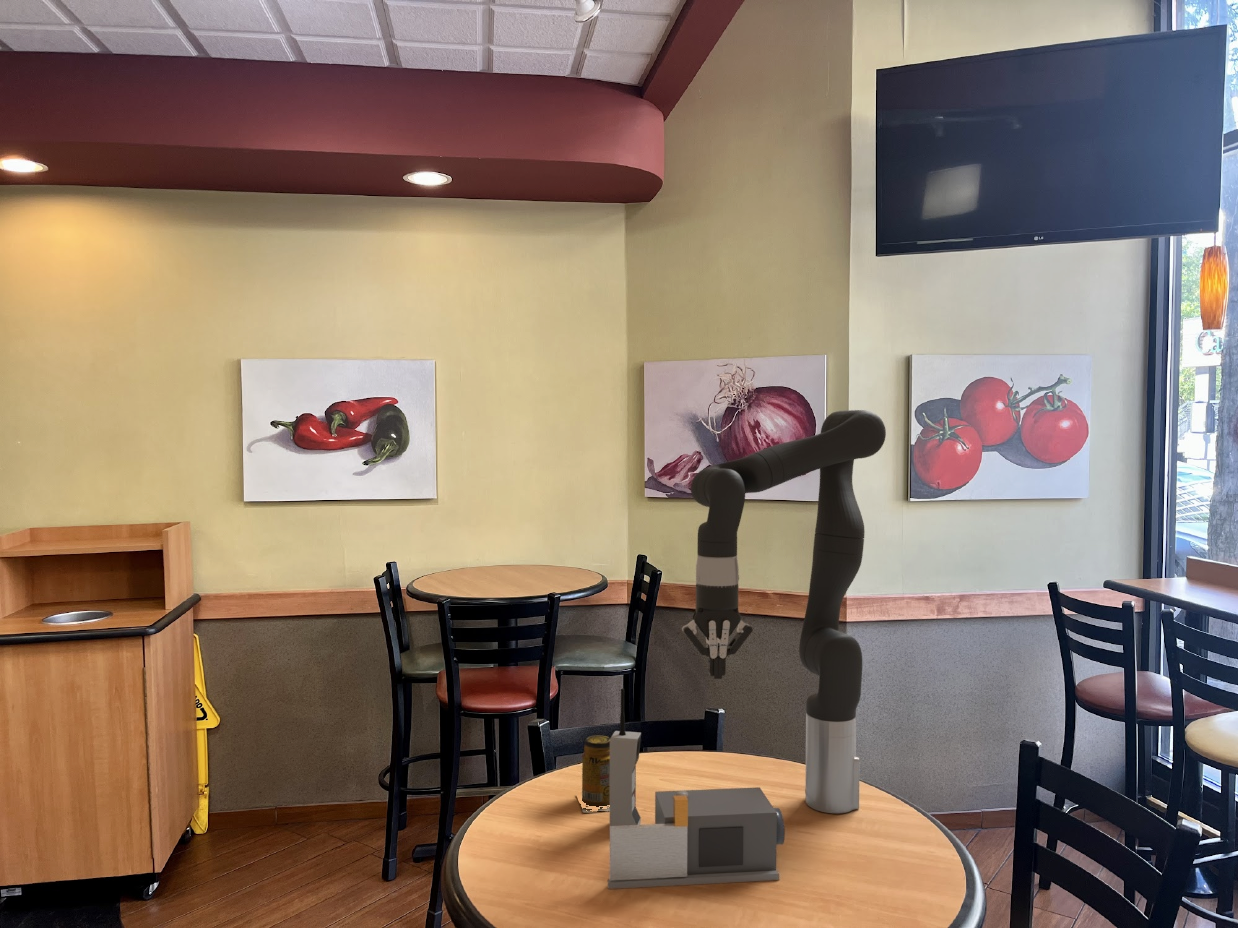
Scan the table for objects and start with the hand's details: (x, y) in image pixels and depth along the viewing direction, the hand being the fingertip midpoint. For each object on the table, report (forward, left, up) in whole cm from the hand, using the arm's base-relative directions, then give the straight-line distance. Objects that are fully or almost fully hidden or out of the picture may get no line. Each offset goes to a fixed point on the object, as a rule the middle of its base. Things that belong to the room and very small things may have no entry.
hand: (716, 677), depth 150 cm
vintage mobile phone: (+16, -2, -27) cm, 32 cm away
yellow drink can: (+20, -13, -27) cm, 36 cm away
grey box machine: (+6, +13, -27) cm, 31 cm away
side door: (+15, +18, -26) cm, 35 cm away
